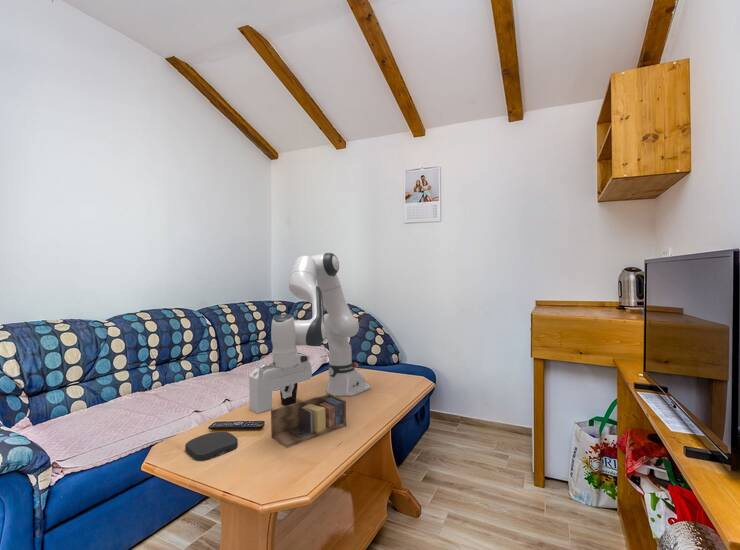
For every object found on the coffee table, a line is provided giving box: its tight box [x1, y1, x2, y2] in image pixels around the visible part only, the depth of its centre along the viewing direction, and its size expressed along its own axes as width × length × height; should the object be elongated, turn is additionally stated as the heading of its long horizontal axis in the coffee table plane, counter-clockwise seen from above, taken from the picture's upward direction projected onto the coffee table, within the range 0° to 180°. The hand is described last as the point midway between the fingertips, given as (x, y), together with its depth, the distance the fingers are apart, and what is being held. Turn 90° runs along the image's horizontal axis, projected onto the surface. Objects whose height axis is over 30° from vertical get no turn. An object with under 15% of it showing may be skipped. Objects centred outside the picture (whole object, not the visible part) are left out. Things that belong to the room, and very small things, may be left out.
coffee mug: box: [279, 383, 299, 407], centre depth 172 cm, size 12×9×10 cm
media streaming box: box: [184, 431, 239, 462], centre depth 129 cm, size 15×15×3 cm
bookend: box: [288, 406, 313, 438], centre depth 137 cm, size 6×8×8 cm
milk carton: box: [248, 365, 273, 414], centre depth 164 cm, size 7×7×19 cm
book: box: [304, 404, 326, 433], centre depth 141 cm, size 4×8×8 cm, turn 54°
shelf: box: [270, 393, 347, 449], centre depth 141 cm, size 26×11×10 cm, turn 131°
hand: (287, 397), depth 136 cm, fingers closed
